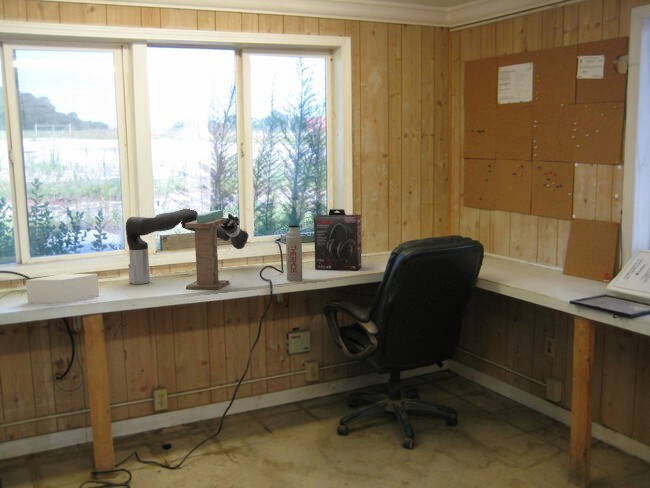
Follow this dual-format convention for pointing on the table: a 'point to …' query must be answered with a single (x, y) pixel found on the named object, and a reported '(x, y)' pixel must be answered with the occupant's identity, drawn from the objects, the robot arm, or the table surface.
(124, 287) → the table surface
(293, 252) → the thermos bottle
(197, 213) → the robot arm
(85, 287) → the block
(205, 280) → the walnut stand
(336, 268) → the headset box
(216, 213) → the teal bar
